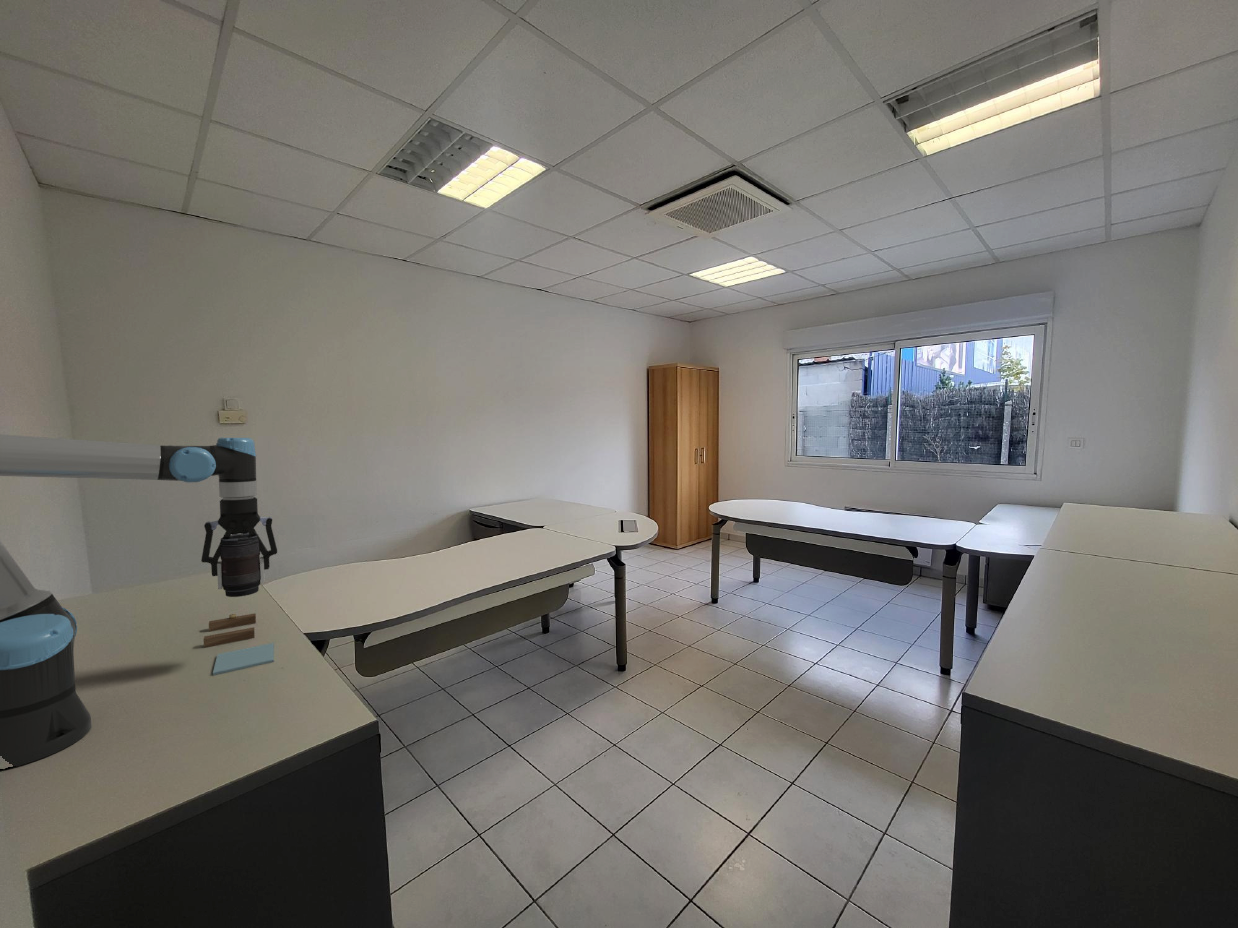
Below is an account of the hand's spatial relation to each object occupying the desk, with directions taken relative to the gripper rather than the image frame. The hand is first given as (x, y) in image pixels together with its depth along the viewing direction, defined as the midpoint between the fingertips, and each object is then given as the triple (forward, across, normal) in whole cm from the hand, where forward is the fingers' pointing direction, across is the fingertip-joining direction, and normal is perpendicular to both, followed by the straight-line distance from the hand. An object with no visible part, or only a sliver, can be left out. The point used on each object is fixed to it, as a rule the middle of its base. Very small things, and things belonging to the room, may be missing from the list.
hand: (242, 584), depth 122 cm
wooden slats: (+20, +4, -22) cm, 30 cm away
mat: (+20, 0, 0) cm, 20 cm away
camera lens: (+2, 0, 0) cm, 2 cm away
